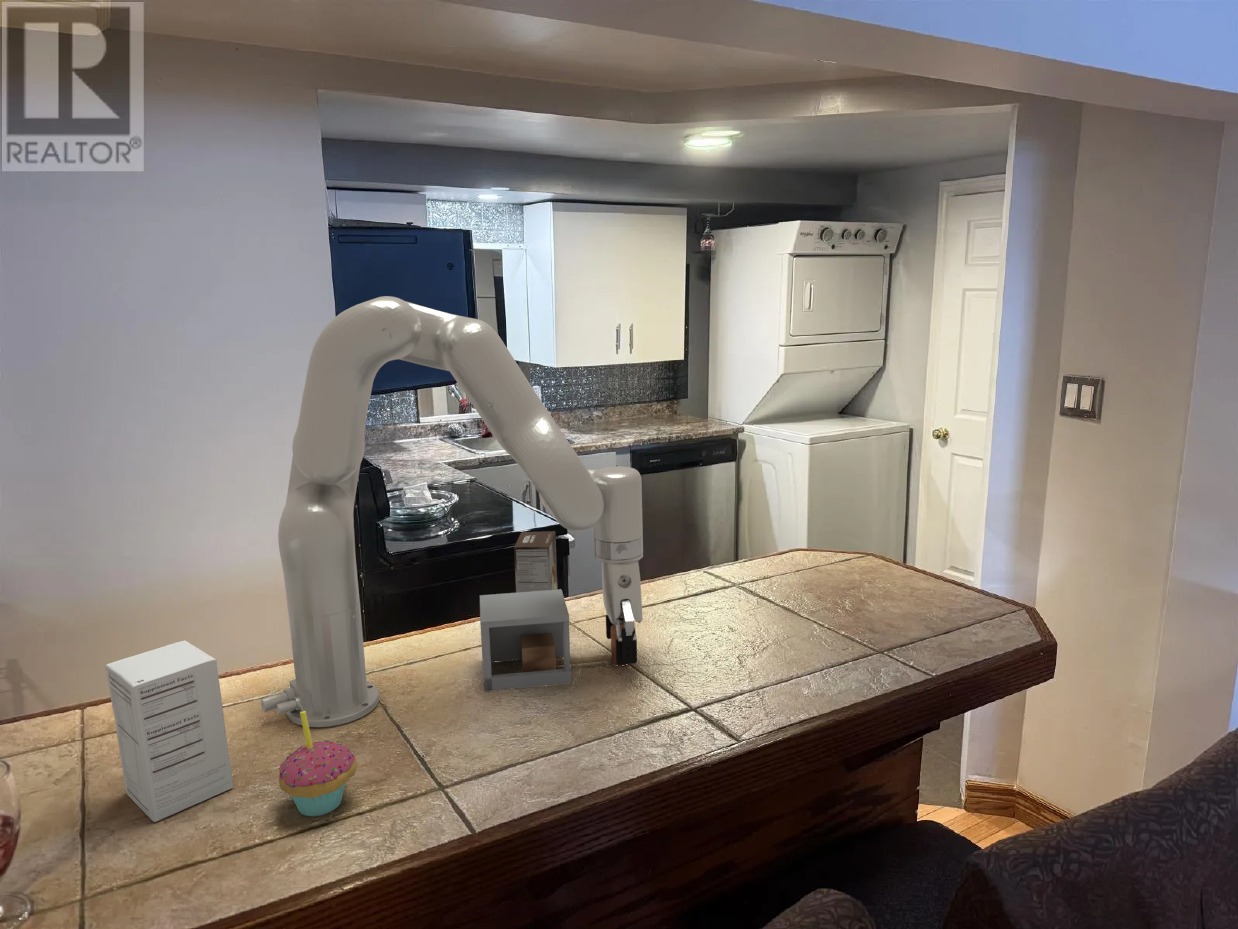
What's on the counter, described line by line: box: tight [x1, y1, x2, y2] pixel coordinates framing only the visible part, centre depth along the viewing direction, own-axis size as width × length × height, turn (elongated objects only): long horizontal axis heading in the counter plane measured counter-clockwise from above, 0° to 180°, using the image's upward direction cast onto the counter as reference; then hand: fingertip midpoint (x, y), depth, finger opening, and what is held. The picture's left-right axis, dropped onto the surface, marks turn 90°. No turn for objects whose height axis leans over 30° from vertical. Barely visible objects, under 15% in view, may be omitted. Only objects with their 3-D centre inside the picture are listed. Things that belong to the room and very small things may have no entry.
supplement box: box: [105, 640, 234, 823], centre depth 98 cm, size 10×9×17 cm
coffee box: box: [513, 530, 558, 593], centre depth 146 cm, size 9×6×16 cm
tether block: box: [520, 625, 624, 673], centre depth 130 cm, size 17×5×6 cm, turn 100°
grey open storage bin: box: [479, 588, 572, 692], centre depth 129 cm, size 13×11×11 cm
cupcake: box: [278, 705, 358, 817], centre depth 96 cm, size 9×8×12 cm
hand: (621, 650), depth 132 cm, fingers open, 9 cm apart
